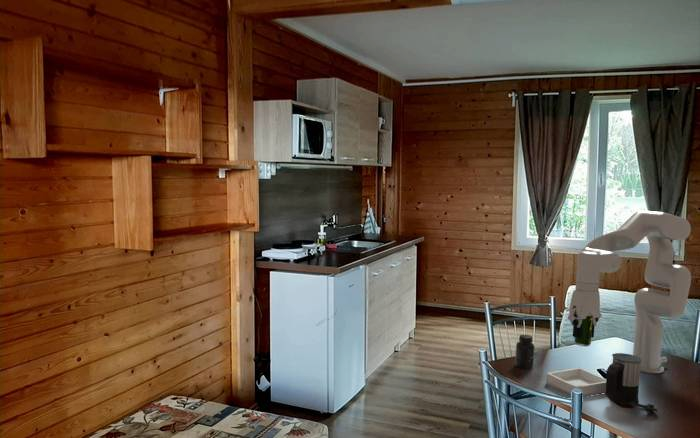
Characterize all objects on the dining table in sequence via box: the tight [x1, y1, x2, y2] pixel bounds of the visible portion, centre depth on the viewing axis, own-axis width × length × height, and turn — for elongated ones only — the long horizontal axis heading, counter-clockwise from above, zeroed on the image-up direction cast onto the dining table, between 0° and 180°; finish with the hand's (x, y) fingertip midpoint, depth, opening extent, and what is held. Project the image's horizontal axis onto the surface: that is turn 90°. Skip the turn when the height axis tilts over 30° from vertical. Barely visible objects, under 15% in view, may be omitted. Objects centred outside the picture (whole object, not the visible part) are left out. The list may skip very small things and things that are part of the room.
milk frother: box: [605, 352, 658, 414], centre depth 184 cm, size 14×16×15 cm
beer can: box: [574, 313, 593, 347], centre depth 198 cm, size 5×5×12 cm
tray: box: [545, 367, 606, 399], centre depth 197 cm, size 16×14×4 cm
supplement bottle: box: [514, 334, 535, 370], centre depth 217 cm, size 7×7×12 cm
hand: (583, 336), depth 198 cm, fingers closed on beer can, 5 cm apart
